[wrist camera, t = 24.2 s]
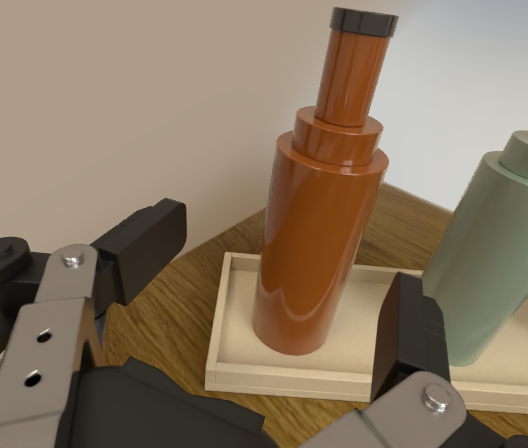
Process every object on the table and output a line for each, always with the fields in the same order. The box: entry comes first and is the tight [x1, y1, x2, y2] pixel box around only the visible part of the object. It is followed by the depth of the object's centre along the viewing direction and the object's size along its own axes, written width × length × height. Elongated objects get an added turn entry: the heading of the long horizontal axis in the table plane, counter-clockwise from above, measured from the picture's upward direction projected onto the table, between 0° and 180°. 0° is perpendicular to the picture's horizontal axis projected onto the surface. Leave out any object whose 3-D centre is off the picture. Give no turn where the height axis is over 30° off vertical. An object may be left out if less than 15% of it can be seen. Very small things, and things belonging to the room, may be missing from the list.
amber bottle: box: [251, 7, 399, 356], centre depth 20 cm, size 6×6×20 cm
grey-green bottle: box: [420, 131, 528, 367], centre depth 21 cm, size 6×6×20 cm
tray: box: [205, 252, 528, 414], centre depth 26 cm, size 35×11×2 cm, turn 89°
